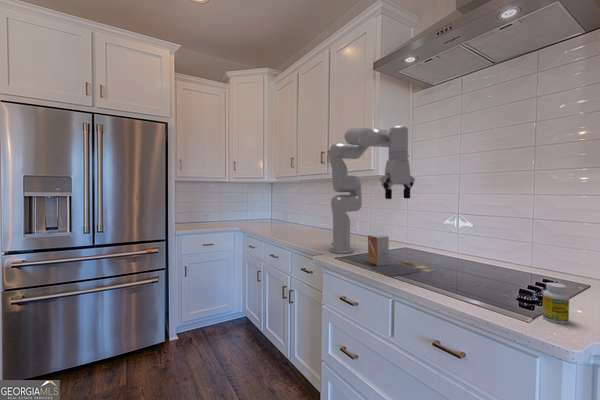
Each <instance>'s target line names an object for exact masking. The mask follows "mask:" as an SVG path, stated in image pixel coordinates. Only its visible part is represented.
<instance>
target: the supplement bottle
mask: <svg viewBox="0 0 600 400" xmlns="http://www.w3.org/2000/svg"><path fill="white" fill-rule="evenodd" d="M545 288H546V290H544V291H543V292H542V318H543V319H544V320H546V321H548V322H551V323H556V324H561V325H563V324H565V325H566V324H567V323H569V316H570V314H569V313H570V311H569V310H570V296H569V295H568V294H567V293H566V291H567V287H566V285H565V284H561V283H557V282H546V284H545Z"/></svg>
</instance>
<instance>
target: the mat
mask: <svg viewBox="0 0 600 400" xmlns="http://www.w3.org/2000/svg"><path fill="white" fill-rule="evenodd" d="M369 268H370V269H371V268H372V269H371V270H373V269H374V270H373V271H376V270H377V271H376V272H378V271H379V272H378V273H380V272H381V274H384V275H385V276H388V277H391V278H392V277H396V276H395V275H399V276H403V275H404V274H405V275H410V274H411V275H412V274H419V273H421V272H422V271H420V270H417V269H414V267H411V266H407V265H405V264H402V263H401V264H400V263H391V264H390V263H389V265H380V266H377V265H375V266H369Z"/></svg>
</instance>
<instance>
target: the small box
mask: <svg viewBox="0 0 600 400" xmlns="http://www.w3.org/2000/svg"><path fill="white" fill-rule="evenodd" d="M389 238H390V237H389V236H387V235H381V234H369V235H367V257H368V258H367V259H368V260H367V261H368V263H370V264H372V265H375V266H382V265H390V247H389V243H390V242H389Z"/></svg>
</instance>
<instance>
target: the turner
mask: <svg viewBox="0 0 600 400" xmlns="http://www.w3.org/2000/svg"><path fill="white" fill-rule="evenodd" d="M400 263H401V264H403V265H406V266H407V265H408V266H409V267H412V268H413V269H416V270H419V271H421V272H423V273H433V272H436V269H434V268H430V267H428V266H425V265H420V264H416V263H414V262H411V261H407V260H404V259H402V260H400Z"/></svg>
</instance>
